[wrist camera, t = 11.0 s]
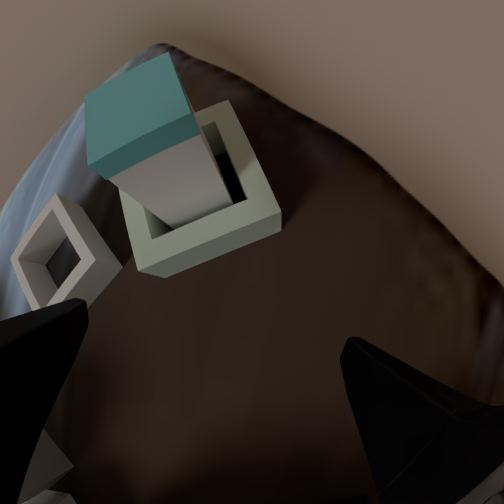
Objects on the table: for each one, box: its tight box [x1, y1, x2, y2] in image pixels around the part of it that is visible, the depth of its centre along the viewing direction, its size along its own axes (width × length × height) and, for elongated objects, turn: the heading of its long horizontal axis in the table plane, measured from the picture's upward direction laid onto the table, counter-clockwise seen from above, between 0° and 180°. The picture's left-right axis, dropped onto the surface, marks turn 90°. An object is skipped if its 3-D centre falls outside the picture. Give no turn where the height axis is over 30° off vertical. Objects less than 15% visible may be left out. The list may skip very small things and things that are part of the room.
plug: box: [84, 52, 234, 229], centre depth 16 cm, size 5×5×12 cm
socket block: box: [118, 100, 281, 278], centre depth 20 cm, size 10×10×4 cm
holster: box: [10, 193, 123, 311], centre depth 21 cm, size 8×8×4 cm
